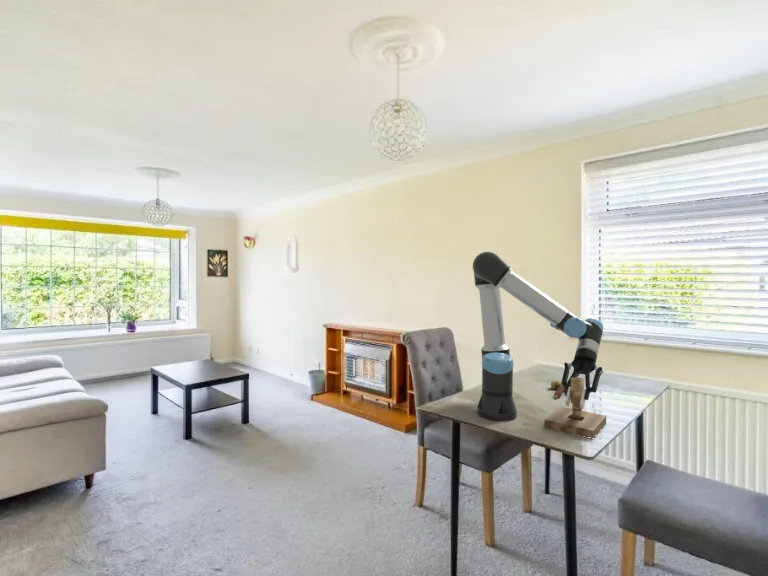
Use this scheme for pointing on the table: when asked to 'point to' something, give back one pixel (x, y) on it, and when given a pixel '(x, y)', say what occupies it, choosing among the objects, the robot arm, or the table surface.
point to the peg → (576, 396)
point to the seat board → (575, 422)
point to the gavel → (557, 386)
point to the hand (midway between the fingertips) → (574, 405)
